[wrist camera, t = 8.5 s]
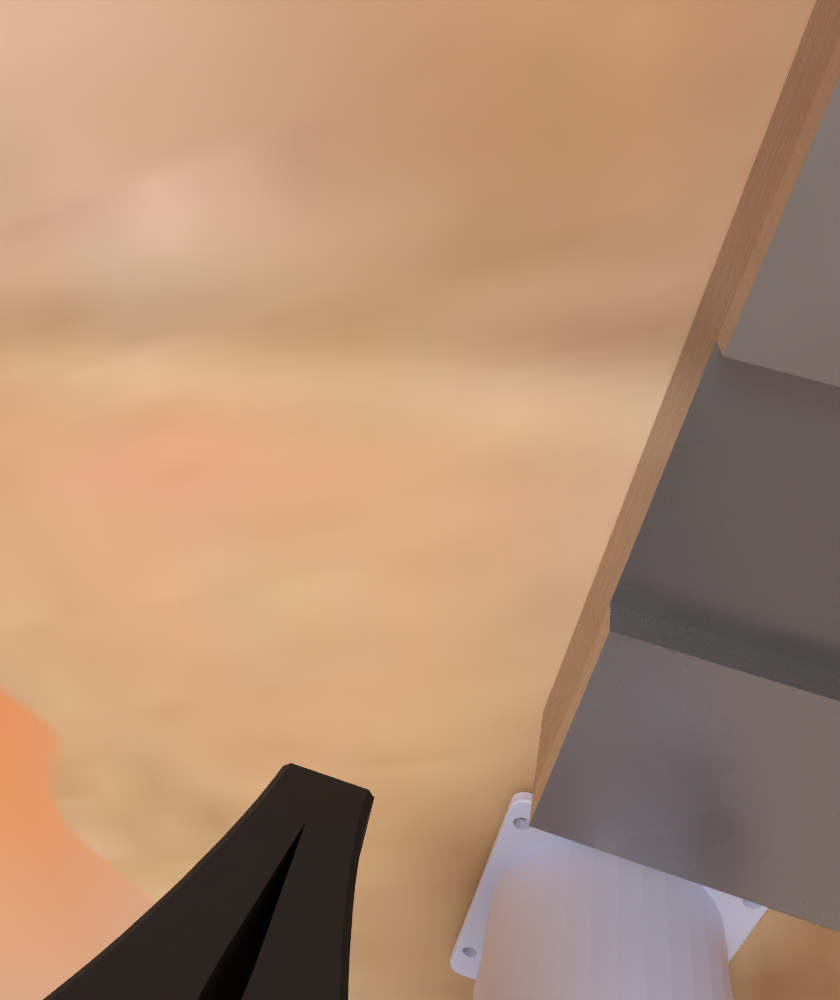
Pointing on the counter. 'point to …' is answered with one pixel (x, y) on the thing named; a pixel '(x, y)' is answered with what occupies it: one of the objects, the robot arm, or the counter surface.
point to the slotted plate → (729, 563)
